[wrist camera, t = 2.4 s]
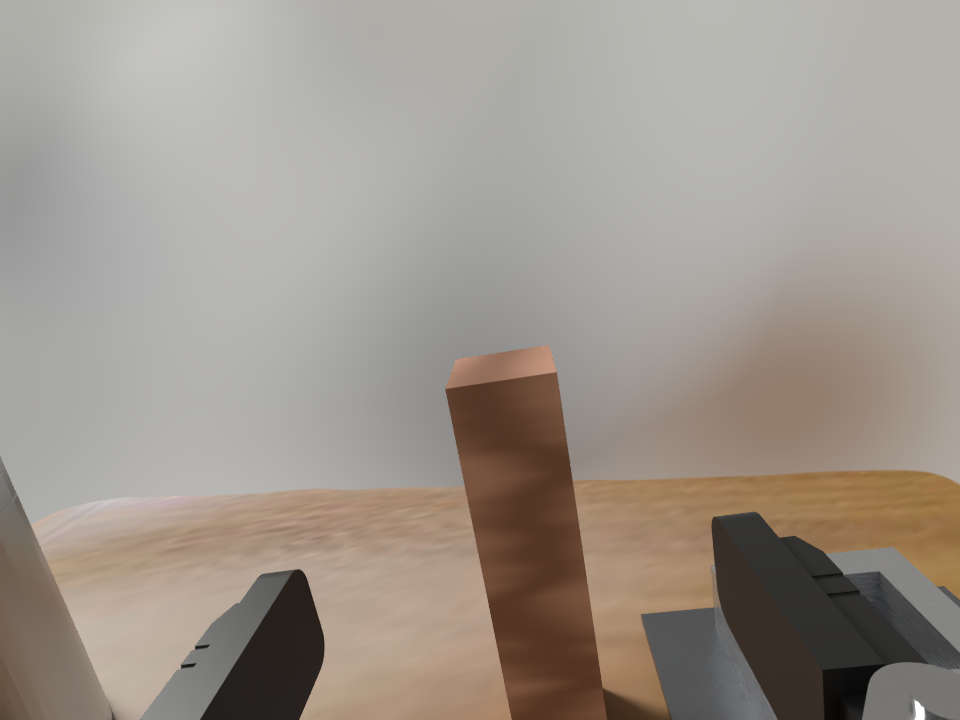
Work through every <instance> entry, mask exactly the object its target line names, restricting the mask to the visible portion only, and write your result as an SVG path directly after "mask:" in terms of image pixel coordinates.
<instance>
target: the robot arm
mask: <svg viewBox="0 0 960 720" xmlns="http://www.w3.org/2000/svg"><path fill="white" fill-rule="evenodd" d="M712 538H713V549H714V560H715V570H716V581H717V591H718V596H719V601H720V605H721V608H722V612H723V615H724V617H725V620H726V622H727V625H728V627H729V629H730V630H731V632H732V634H733V636H734V638H735V640H736V642H737V644H738V645H739V647H740V649H741V651H742V653H743V655H744V657H745V659H746V661H747V662H748V664H749V666H750V668H751V670H752V672H753V674H754V676H755V678H756V679H757V681H758V683H759V685H760V687H761V689H762V691H763V693H764V694H765V696H766V698H767V700H768V702H769V704H770V706H771V708H772V710H773V711H774V713H775V715H776V717H777V719H778V720H960V674H958V673H956V672H953V671H950V670H947V669H945V668H941V667H937V666H933V665H929V664H928V663H927V662H926V661H925V660H924V658H923V657H922V656H921V655H920V654H919V653H918V652H917V651H916V650H915V649H914V648H913V647H912V646H911V645H910V644H909V642H908V641H907V640H906V639H905V638H904V637H903V636H902V635H901V634H900V633H899V632H898V631H897V630H896V629H895V628H894V626H893V625H892V624H891V623H890V622H889V621H888V620H887V619H886V618H885V617H884V616H883V615H882V614H881V613H880V612H879V610H878V609H877V608H876V607H875V606H874V605H873V604H872V603H871V602H870V601H869V600H868V599H867V598H866V597H865V596H864V595H861V594H860V590H859V589H858V588H857V587H856V586H855V585H854V584H853V583H852V582H851V581H850V580H849V579H848V577H844V575H843V572H842V571H841V570H840V569H839V568H838V567H837V566H836V565H835V564H834V563H833V561H832V560H831V559H830V558H829V557H828V556H827V555H826V554H825V553H824V552H823V551H821V550H819V549H818V548H816V547H814V546H812V545H810V544H809V543H807V542H805V541H803V540H801V539H800V538H798V537H796V536H790V537H782V538H779V537H778V536H777V535H776V534H775V532H774V531H773V530H772V529H771V528H770V527H769V525H768V524H767V523H766V522H765V521H764V519H763V518H762V517H761V516H760V515H759V514H758V513H757V512H749V513H741V514H733V515H725V516H717V517H713V519H712ZM323 658H324V635H323V631H322V628H321V624H320V621H319V618H318V614H317V611H316V608H315V604H314V601H313V598H312V594H311V591H310V587H309V584H308V581H307V578H306V576H305V574H304V573H303V571H301V570H299V569H298V570H289V571H282V572H274V573H266V574H262V575H260V576H259V577H258V578H257V580H256V581H255V582H254V584H253V585H252V587H251V588H250V589H249V591H248V592H247V594H246V595H245V596H244V598H243V599H242V601H241V602H240V603H237V604H235V605H233V606H232V607H231V608H230V609H229V610H228V611H226V612H225V613H224V614H223V615H222V616H220V617H219V618H218V619H217V620H216V621H214V622H213V623H212V624H211V625H210V627H209V628H208V629H207V631H206V632H205V633H204V635H203V636H202V637H201V639H200V640H199V641H198V643H197V644H196V645H195V650H192V651H191V652H190V653H189V655H188V656H187V657H186V659H185V660H184V661H183V663H182V664H181V669H179V670H177V671H176V672H175V673H174V675H173V676H172V678H171V679H170V680H169V682H168V683H167V684H166V686H165V687H164V688H163V690H162V691H161V692H160V694H159V695H158V696H157V698H156V699H155V700H154V702H153V703H152V704H151V706H150V707H149V708H148V710H147V711H146V712H145V714H144V715H143V716H142V718H141V719H140V720H299V719H300V716H301V714H302V712H303V709H304V707H305V705H306V702H307V700H308V698H309V695H310V693H311V691H312V688H313V686H314V684H315V681H316V679H317V677H318V674H319V672H320V670H321V667H322V663H323ZM0 720H112V713H111V708H110V705H109V703H108V701H107V698H106V696H105V694H104V692H103V689H102V687H101V685H100V682H99V680H98V678H97V676H96V673H95V671H94V669H93V666H92V664H91V662H90V659H89V657H88V655H87V652H86V650H85V647H84V645H83V643H82V640H81V638H80V636H79V634H78V631H77V629H76V627H75V625H74V622H73V620H72V618H71V615H70V613H69V611H68V609H67V606H66V604H65V602H64V600H63V597H62V595H61V593H60V590H59V588H58V586H57V584H56V581H55V579H54V577H53V575H52V572H51V570H50V568H49V566H48V563H47V561H46V559H45V556H44V554H43V552H42V550H41V547H40V545H39V543H38V541H37V538H36V536H35V534H34V531H33V529H32V527H31V525H30V523H29V520H28V518H27V516H26V513H25V511H24V509H23V507H22V504H21V502H20V500H19V497H18V495H17V493H16V491H15V489H14V487H13V485H12V482H11V480H10V478H9V476H8V473H7V471H6V469H5V466H4V464H3V462H2V459H1V457H0Z"/></svg>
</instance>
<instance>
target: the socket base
mask: <svg viewBox="0 0 960 720" xmlns="http://www.w3.org/2000/svg"><path fill="white" fill-rule="evenodd" d="M826 555H827V556H828V557H829V558H830V559H831V560H832V561H833V563H834V564H835V565H836V566H837V567H838V568H839V569H840V570H841V571H842V572H843V575H844V577H848V579H849V580H850V581H851V582H852V583H853V584H854V585H855V586H856V587H857V588H858V589H859V590H860V594H861V595H864V596H865V597H866V598H867V599H868V600H869V601H870V602H871V603H872V604H873V605H874V606H875V607H876V608H877V609H878V610H879V612H880V613H881V614H882V615H883V616H884V617H885V618H886V619H887V620H888V621H889V622H890V623H891V624H892V625H893V626H894V628H895V629H896V630H897V631H898V632H899V633H900V634H901V635H902V636H903V637H904V638H905V639H906V640H907V641H908V642H909V644H910V645H911V646H912V647H913V648H914V649H915V650H916V651H917V652H918V653H919V654H920V655H921V656H922V657H923V658H924V660H925V661H926V662H927V663H928V664H929V665H933V666H937V667H941V668H945V669H947V670H950V671H953V672H956V673H958V674H960V600H959V599H958V598H956V597H955V596H954V595H953V594H952V593H951V592H950V591H949V590H947V589H946V588H945V587H944V586H941V587H936V586H935V585H934V584H933V583H932V582H931V581H930V580H929V579H928V578H927V577H925V576H924V575H923V574H922V573H921V572H920V571H919V570H918V569H917V568H916V567H914V566H913V565H912V564H911V563H910V562H909V561H908V560H907V559H906V558H905V557H903V556H902V555H901V554H900V553H899V552H898V551H897V550H896V549H895V548H894V547H889V548H880V549H870V550H860V551H850V552H840V553H830V554H826ZM711 576H712V588H713V601H714V608H704V609H693V610H682V611H672V612H661V613H650V614H641V618H642V623H643V627H644V630H645V634H646V637H647V641H648V644H649V647H650V651H651V654H652V658H653V661H654V664H655V668H656V671H657V675H658V678H659V681H660V685H661V688H662V692H663V695H664V699H665V702H666V705H667V709H668V712H669V716H670V719H671V720H778V719H777V717H776V715H775V713H774V711H773V710H772V708H771V706H770V704H769V702H768V700H767V698H766V696H765V694H764V693H763V691H762V689H761V687H760V685H759V683H758V681H757V679H756V678H755V676H754V674H753V672H752V670H751V668H750V666H749V664H748V662H747V661H746V659H745V657H744V655H743V653H742V651H741V649H740V647H739V645H738V644H737V642H736V640H735V638H734V636H733V634H732V632H731V630H730V629H729V627H728V625H727V622H726V620H725V617H724V615H723V612H722V608H721V605H720V601H719V596H718V591H717V581H716V570H715V565H712V566H711Z"/></svg>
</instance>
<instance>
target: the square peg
mask: <svg viewBox="0 0 960 720" xmlns="http://www.w3.org/2000/svg"><path fill="white" fill-rule="evenodd" d="M446 394H447V399H448V404H449V409H450V414H451V419H452V424H453V429H454V434H455V439H456V444H457V449H458V454H459V459H460V464H461V469H462V474H463V479H464V483H465V489H466V494H467V499H468V504H469V509H470V514H471V519H472V524H473V529H474V534H475V539H476V544H477V549H478V554H479V559H480V563H481V568H482V573H483V578H484V583H485V588H486V593H487V598H488V603H489V608H490V613H491V618H492V623H493V628H494V633H495V638H496V643H497V648H498V653H499V658H500V663H501V668H502V673H503V678H504V683H505V688H506V693H507V698H508V703H509V708H510V713H511V718H512V720H607V715H606V709H605V702H604V695H603V688H602V681H601V674H600V667H599V660H598V653H597V646H596V640H595V633H594V626H593V619H592V612H591V605H590V598H589V591H588V584H587V577H586V571H585V564H584V557H583V550H582V543H581V536H580V529H579V522H578V515H577V508H576V502H575V495H574V488H573V481H572V474H571V467H570V460H569V453H568V447H567V439H566V433H565V426H564V419H563V412H562V405H561V398H560V391H559V385H558V378H557V371H556V368H555V364H554V361H553V358H552V354H551V350H550V347H549V345H546V346H540V347H533V348H527V349H521V350H515V351H508V352H502V353H495V354H488V355H482V356H476V357H470V358H463V359H457V360H456V362H455V364H454V367H453V370H452V372H451V375H450V378H449V380H448V383H447V386H446Z"/></svg>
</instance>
